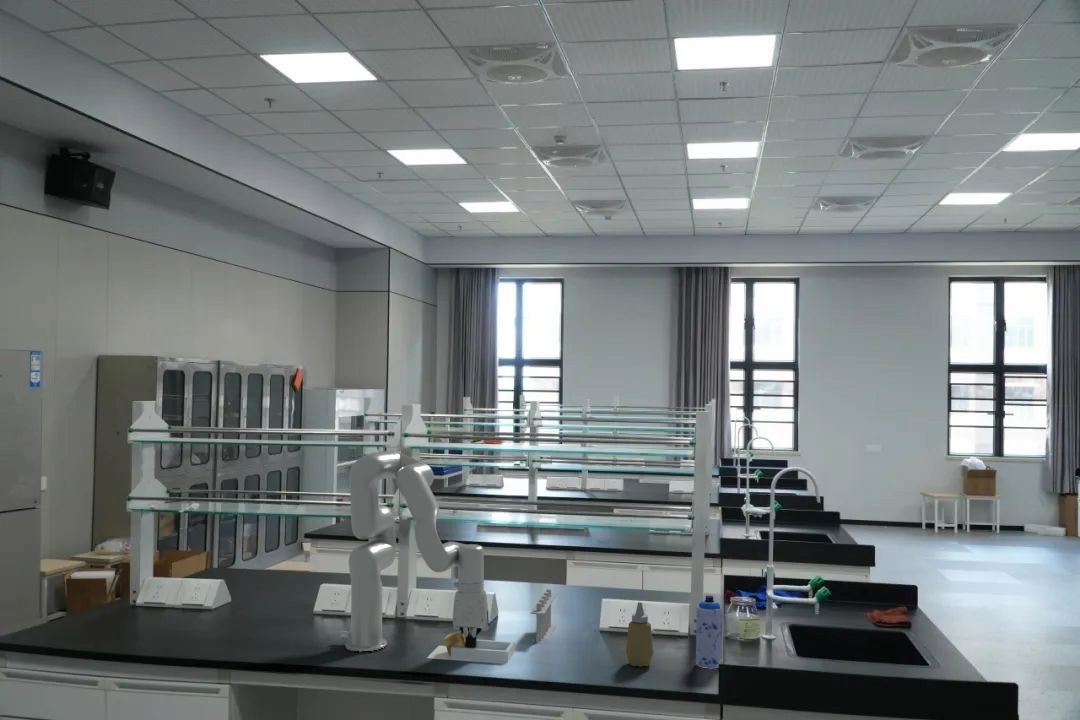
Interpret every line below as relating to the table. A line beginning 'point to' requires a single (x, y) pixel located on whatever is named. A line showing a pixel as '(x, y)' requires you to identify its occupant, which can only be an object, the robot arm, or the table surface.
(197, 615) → the table surface
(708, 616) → the aerosol can
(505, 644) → the channel
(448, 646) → the block
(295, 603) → the table surface
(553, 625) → the test tube rack
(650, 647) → the squeeze bottle
